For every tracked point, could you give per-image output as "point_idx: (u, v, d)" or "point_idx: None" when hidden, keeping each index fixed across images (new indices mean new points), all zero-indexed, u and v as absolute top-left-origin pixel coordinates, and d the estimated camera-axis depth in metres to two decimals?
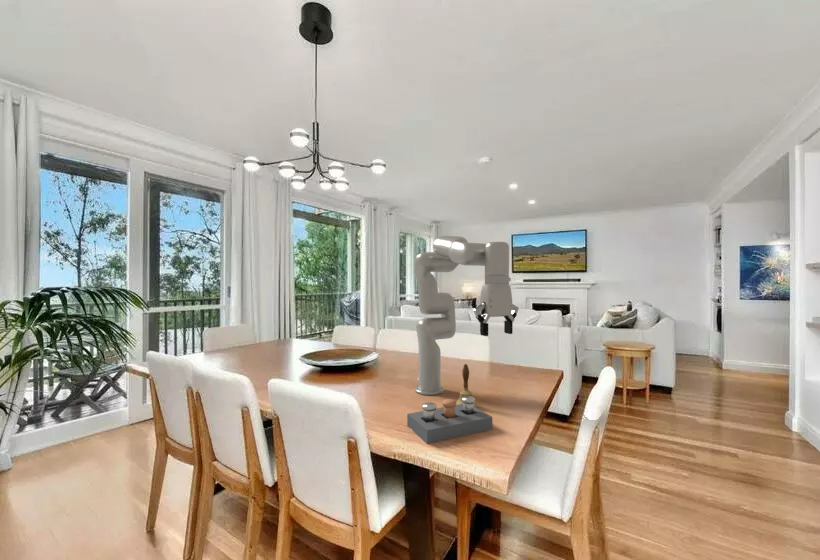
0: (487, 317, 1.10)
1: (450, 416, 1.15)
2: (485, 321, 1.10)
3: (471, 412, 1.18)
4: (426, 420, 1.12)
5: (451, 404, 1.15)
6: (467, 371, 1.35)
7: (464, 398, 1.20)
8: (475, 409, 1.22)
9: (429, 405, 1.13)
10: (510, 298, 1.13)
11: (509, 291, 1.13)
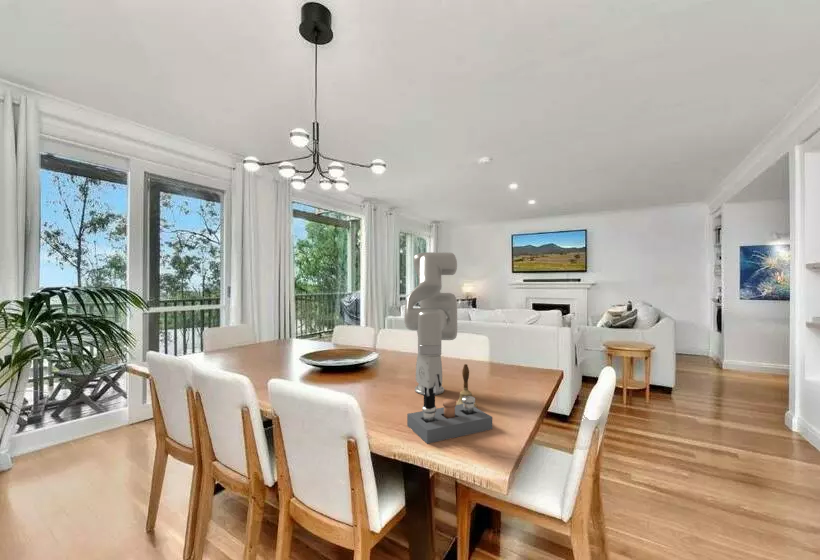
0: None
1: (450, 416, 1.15)
2: (434, 393, 1.13)
3: (471, 412, 1.18)
4: (426, 422, 1.12)
5: (451, 404, 1.15)
6: (467, 371, 1.35)
7: (464, 398, 1.20)
8: (475, 409, 1.22)
9: None
10: None
11: None
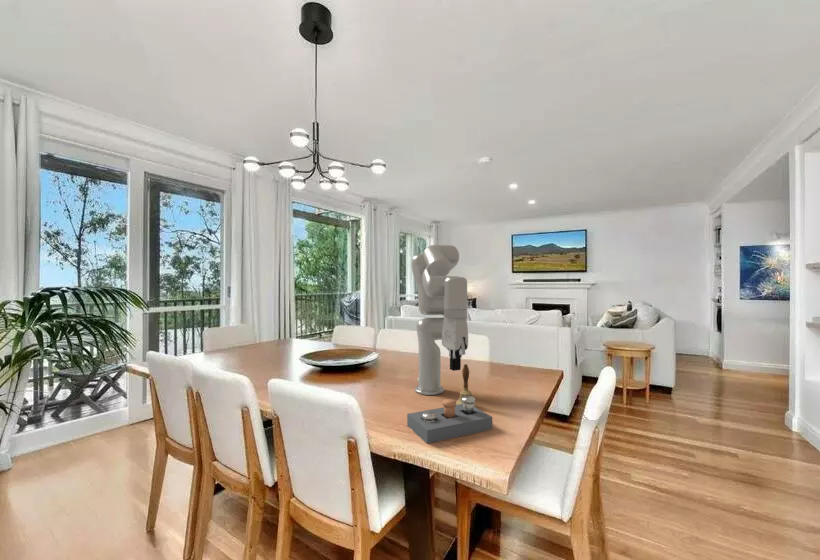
0: None
1: (450, 416, 1.15)
2: None
3: (471, 412, 1.18)
4: None
5: (451, 404, 1.15)
6: (467, 371, 1.35)
7: (464, 398, 1.20)
8: (475, 409, 1.22)
9: (429, 415, 1.13)
10: None
11: None
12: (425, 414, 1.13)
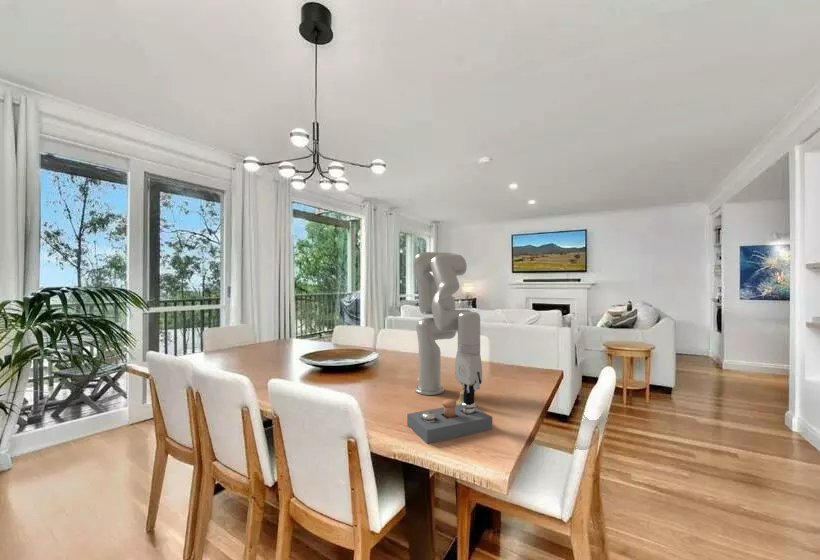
0: None
1: (450, 416, 1.15)
2: None
3: None
4: None
5: (451, 404, 1.15)
6: None
7: (464, 403, 1.20)
8: (475, 409, 1.22)
9: (429, 415, 1.13)
10: None
11: None
12: (425, 414, 1.13)
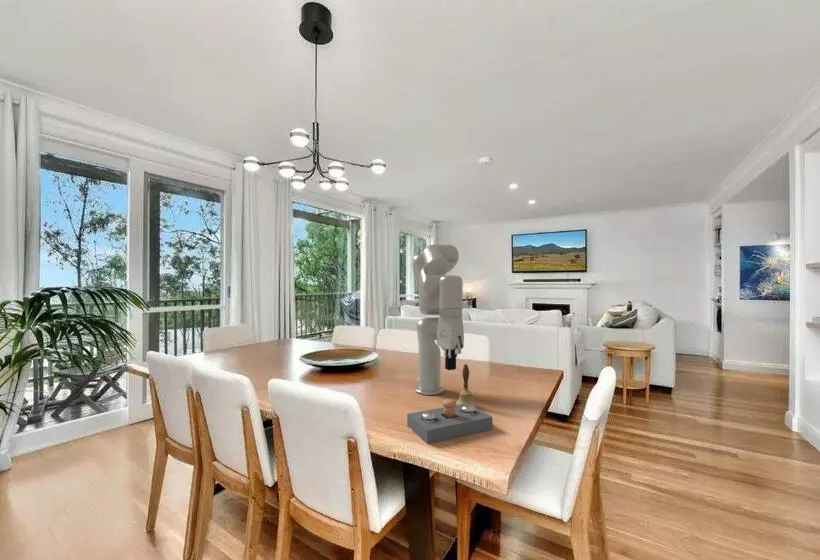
0: None
1: (450, 416, 1.15)
2: None
3: None
4: None
5: (451, 404, 1.15)
6: (467, 371, 1.35)
7: (464, 407, 1.20)
8: (475, 409, 1.22)
9: (429, 415, 1.13)
10: None
11: None
12: (425, 414, 1.13)
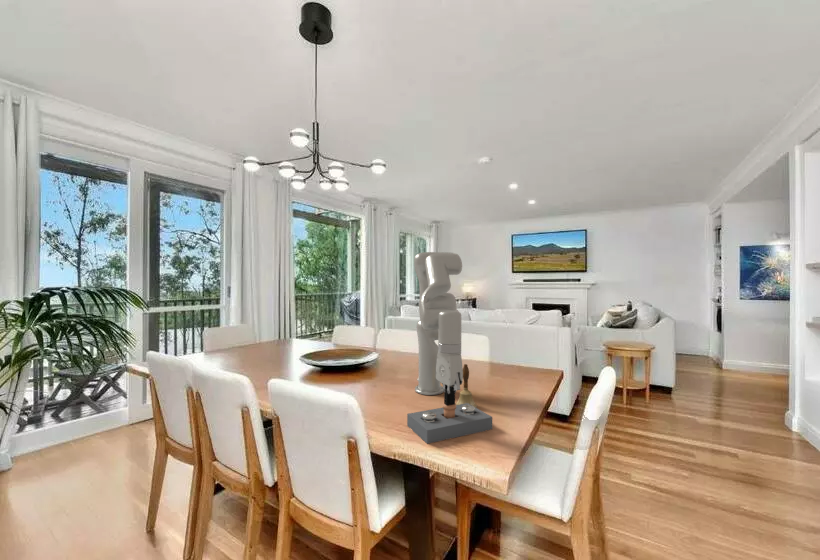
0: None
1: None
2: None
3: None
4: None
5: (451, 407, 1.15)
6: (467, 371, 1.35)
7: (464, 407, 1.20)
8: (475, 409, 1.22)
9: (429, 415, 1.13)
10: None
11: None
12: (425, 414, 1.13)
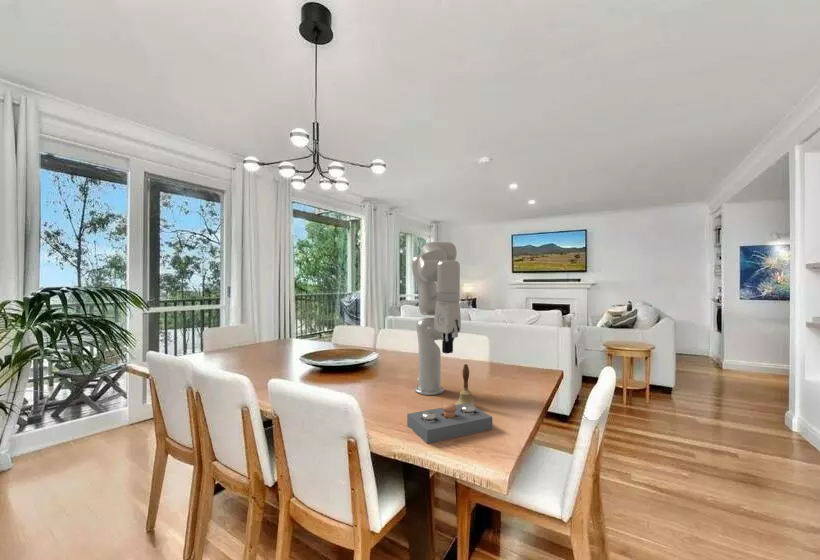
0: None
1: None
2: None
3: None
4: None
5: (451, 409, 1.15)
6: (467, 371, 1.35)
7: (464, 407, 1.20)
8: (475, 409, 1.22)
9: (429, 415, 1.13)
10: None
11: None
12: (425, 414, 1.13)
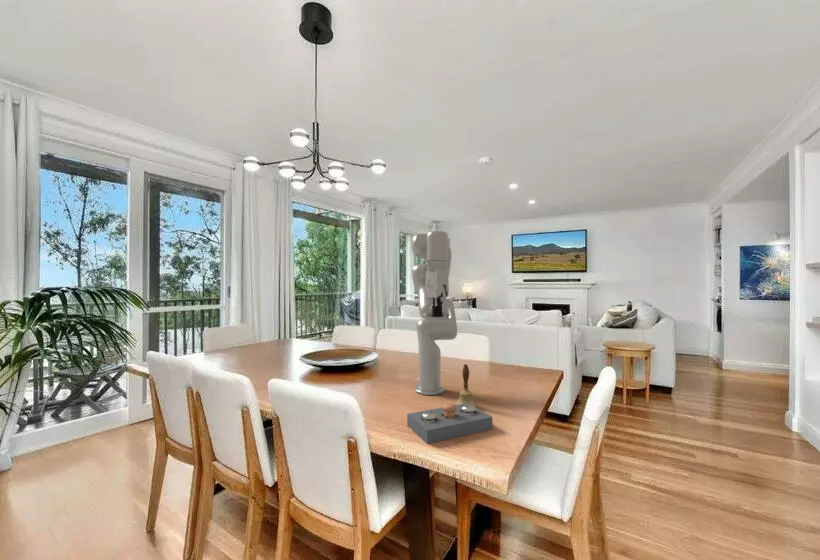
0: None
1: None
2: None
3: None
4: None
5: (451, 409, 1.15)
6: (467, 371, 1.35)
7: (464, 407, 1.20)
8: (475, 409, 1.22)
9: (429, 415, 1.13)
10: None
11: None
12: (425, 414, 1.13)
